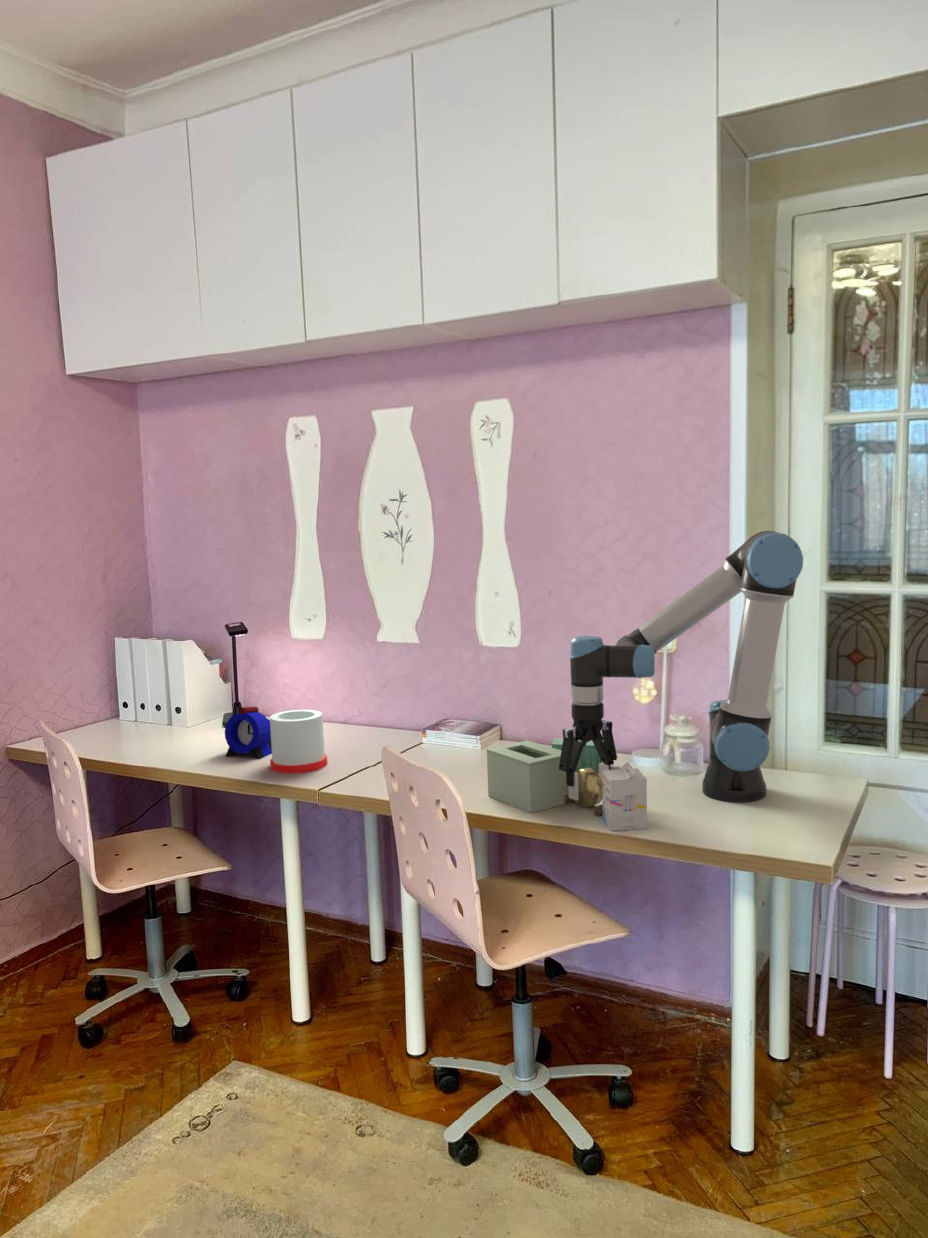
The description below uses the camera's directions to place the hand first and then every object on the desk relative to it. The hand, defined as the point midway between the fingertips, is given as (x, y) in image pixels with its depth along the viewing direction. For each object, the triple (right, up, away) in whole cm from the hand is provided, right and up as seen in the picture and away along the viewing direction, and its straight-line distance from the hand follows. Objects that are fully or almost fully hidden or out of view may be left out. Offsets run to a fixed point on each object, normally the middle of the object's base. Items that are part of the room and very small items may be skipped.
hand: (589, 794), depth 227 cm
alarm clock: (-94, +1, +61) cm, 112 cm away
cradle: (0, -3, 0) cm, 3 cm away
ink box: (+6, -5, -12) cm, 15 cm away
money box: (-14, -3, +8) cm, 16 cm away
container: (-77, 0, +46) cm, 90 cm away
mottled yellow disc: (0, -3, 0) cm, 3 cm away
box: (+1, +1, +34) cm, 34 cm away
